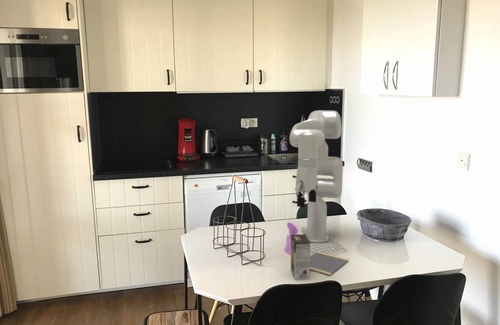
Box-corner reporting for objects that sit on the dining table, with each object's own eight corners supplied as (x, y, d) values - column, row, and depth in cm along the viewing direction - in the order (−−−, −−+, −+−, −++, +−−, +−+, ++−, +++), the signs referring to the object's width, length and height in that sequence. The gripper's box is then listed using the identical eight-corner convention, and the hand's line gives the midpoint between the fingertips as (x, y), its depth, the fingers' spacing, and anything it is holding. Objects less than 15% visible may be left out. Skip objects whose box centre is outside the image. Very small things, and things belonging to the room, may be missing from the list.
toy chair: (308, 252, 201) (308, 222, 198) (292, 256, 196) (293, 225, 194) (297, 247, 208) (298, 217, 205) (282, 250, 204) (283, 220, 201)
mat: (296, 266, 186) (296, 264, 186) (316, 253, 200) (316, 251, 200) (330, 276, 176) (330, 274, 176) (348, 261, 190) (348, 259, 190)
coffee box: (290, 270, 182) (290, 234, 179) (305, 269, 183) (305, 233, 180) (294, 280, 173) (294, 242, 170) (309, 279, 174) (310, 241, 171)
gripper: (309, 158, 179) (308, 198, 182) (288, 164, 165) (287, 207, 168) (325, 160, 175) (324, 201, 177) (305, 166, 161) (304, 210, 164)
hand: (306, 204), depth 173 cm, fingers open, 9 cm apart
